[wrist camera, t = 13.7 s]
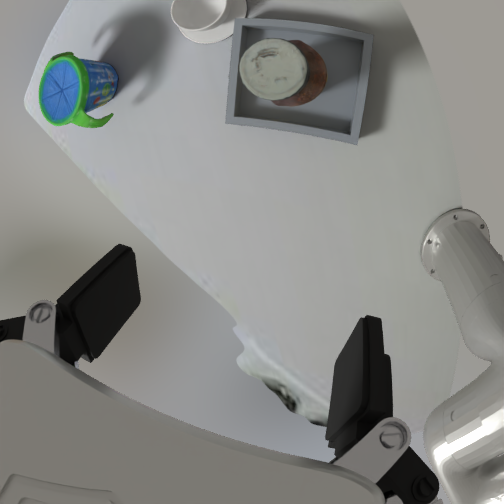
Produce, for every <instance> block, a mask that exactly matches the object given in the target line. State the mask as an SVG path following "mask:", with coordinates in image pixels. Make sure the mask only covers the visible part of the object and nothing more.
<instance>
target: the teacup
mask: <svg viewBox="0 0 504 504" xmlns="http://www.w3.org/2000/svg"><path fill="white" fill-rule="evenodd" d="M246 13H247V3H246V0H173V3H172V6H171V16H172V19H173V21H174V23H175V24H176V25H177V26H178V27H179V29H180V31H181V33H182V34H183V35H184V36H185V37H186V38H188V39H189V40H191V41H194V42H197V43H202V44H209V43H215V42H219V41H222V40H224V39H226V38H228V37H229V36H231V35H232V34H233V30H234V21H235V18H245V17H246Z"/></svg>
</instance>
